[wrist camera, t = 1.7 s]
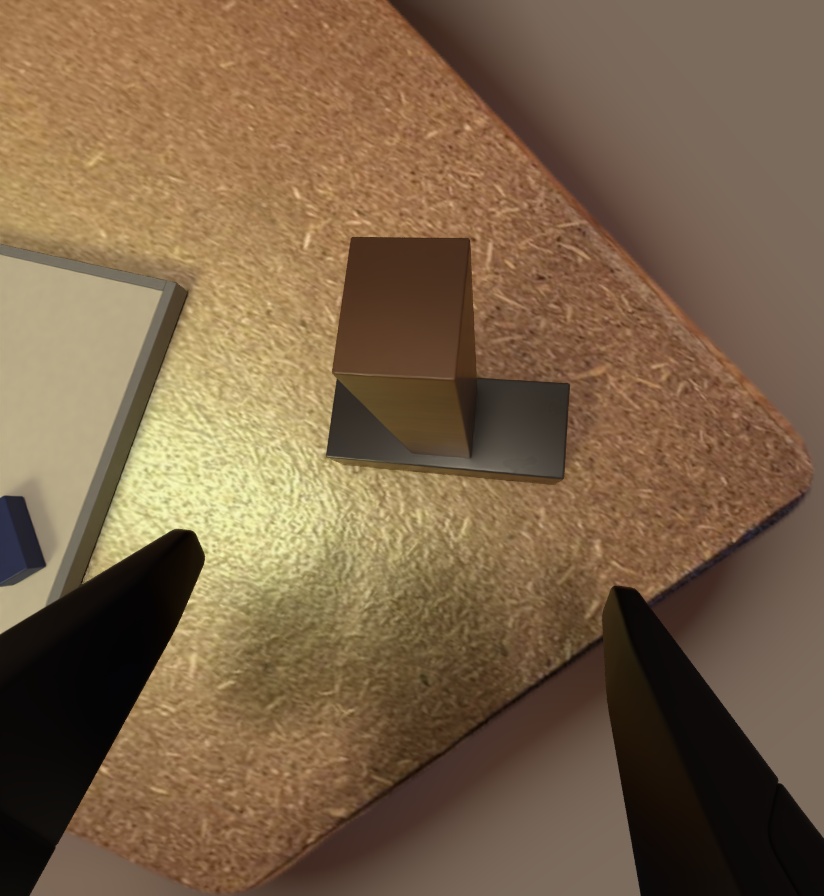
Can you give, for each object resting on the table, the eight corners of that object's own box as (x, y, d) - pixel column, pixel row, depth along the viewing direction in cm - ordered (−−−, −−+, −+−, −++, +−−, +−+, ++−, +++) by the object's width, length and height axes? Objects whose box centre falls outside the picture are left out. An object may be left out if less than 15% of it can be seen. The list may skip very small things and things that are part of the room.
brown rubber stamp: (554, 485, 21) (667, 421, 8) (342, 464, 22) (158, 386, 10) (560, 398, 21) (672, 214, 9) (352, 385, 23) (192, 214, 10)
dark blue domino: (47, 566, 23) (27, 568, 22) (13, 585, 23) (-8, 588, 22) (23, 495, 24) (3, 494, 23) (-9, 514, 24) (-30, 514, 23)
